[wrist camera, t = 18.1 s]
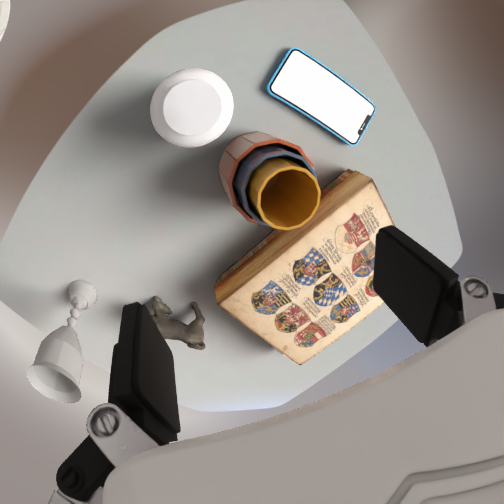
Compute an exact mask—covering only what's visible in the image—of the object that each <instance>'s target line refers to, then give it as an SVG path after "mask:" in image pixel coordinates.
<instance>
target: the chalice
mask: <svg viewBox="0 0 504 504" xmlns="http://www.w3.org/2000/svg"><path fill="white" fill-rule="evenodd" d="M69 299H70V302H71V304H72V305H73V306H74V308H73V309H71V310H70V314H71V317H70V318H68V319H67V322H68V326H61V327H60V328H58V329H56V330H55V331H53V332H52V333H50V334H49V335H48V336H47V337H46V338H45V339H44V340H43V341H42V342H41V345H40V347H39V350H38V353H37V355H36V358H35V361H34V364H33V365H32V366H30V367H29V368H28V369H27V372H26V375H27V378H28V380H29V382H30V383H31V385H32V386H33V387H34V388H35V389H36V390H38V391H39V392H40V393H42V394H43V395H45V396H47V397H48V398H51V399H52V400H55V401H58V402H62V403H75V402H77V401H79V400H80V398H81V392H80V389H79V382H80V377H81V372H82V367H83V357H82V350H81V346H80V343H79V339H78V336H77V333H76V332H75V330H73V328H74V327H75V326H77V320H76V319H77V318H79V317H80V316H81V313H80V310H86V309H88V308H89V307H91V306H92V305H93V304H94V303H95V302H96V301H97V292H96V290H95V288H94V287H93V286H92V285H91V284H90V283H88V282H86V281H83V280H76V281H73V282H72V283H71V284H70V286H69Z"/></svg>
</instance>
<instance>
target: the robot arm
mask: <svg viewBox="0 0 504 504" xmlns="http://www.w3.org/2000/svg"><path fill="white" fill-rule="evenodd" d="M458 277H459V275H458V274H456V273H455V272H454V271H453V270H452V269H450V268H449V267H448V266H447V265H445V264H444V263H443V262H442V261H440V260H439V259H438V258H437V257H435V256H434V255H433V254H431V253H430V252H429V251H428V250H426V249H425V248H424V247H422V246H421V245H420V244H418V243H417V242H416V241H414V240H413V239H412V238H410V237H409V236H407V235H406V234H405V233H403V232H402V231H401V230H399V229H398V228H396V227H395V226H393V225H389V226H386V227H383V228H380V229H379V231H378V233H377V234H376V241H375V260H374V274H373V289H374V291H375V292H376V294H377V295H378V296H379V297H380V298H381V299H382V300H383V301H384V302H385V303H386V305H387V306H388V307H389V308H390V309H391V310H392V311H393V312H394V314H395V315H396V316H397V317H398V318H399V319H400V320H401V322H402V323H403V324H404V325H405V326H406V327H407V328H408V330H409V331H410V332H411V333H412V334H413V335H414V337H415V338H416V339H417V340H418V341H419V342H421V343H424V345H425V346H426V347H427V348H425V349H424V350H422V351H420V352H419V353H417V354H415V355H414V356H411V357H410V358H408V359H406V360H404V361H403V362H401V363H399V364H397V365H395V366H393V367H391V368H389V369H387V370H385V371H383V372H381V373H379V374H377V375H375V376H373V377H371V378H369V379H367V380H365V381H363V382H361V383H359V384H356V385H354V386H352V387H350V388H347V389H345V390H343V391H341V392H338V393H336V394H333V395H331V396H329V397H326V398H324V399H321V400H319V401H317V402H313V403H311V404H308V405H306V406H303V407H300V408H297V409H295V410H292V411H289V412H286V413H283V414H280V415H277V416H274V417H271V418H268V419H265V420H261V421H258V422H255V423H251V424H248V425H244V426H241V427H237V428H233V429H229V430H226V431H222V432H218V433H214V434H210V435H205V436H201V437H197V438H192V439H188V440H184V441H180V442H175V443H171V444H169V442H172V441H177V440H178V439H177V433H179V432H180V421H179V413H178V404H177V394H176V384H175V372H174V360H173V355H172V352H171V350H170V348H169V346H168V345H167V343H166V341H165V340H164V338H163V336H162V334H161V333H160V331H159V329H158V327H157V325H156V324H155V322H154V320H153V318H152V316H151V315H150V313H149V311H148V309H147V307H146V305H145V304H143V305H141V304H140V303H139V302H135V303H132V304H128V305H125V306H124V307H123V313H122V319H121V326H120V333H119V340H118V343H117V344H115V345H114V349H113V356H112V365H111V374H110V385H109V396H108V403H104V404H101V405H99V406H97V407H96V408H94V409H93V410H92V411H91V413H90V414H89V416H88V418H87V424H86V426H87V431H88V433H89V436H88V437H87V438H86V439H85V440H84V441H83V442H82V443H81V444H80V445H79V447H77V448H76V449H75V451H74V452H73V453H72V454H71V455H70V456H69V457H68V458H67V459H66V460H65V462H63V464H61V466H60V467H59V469H58V471H57V475H56V481H57V485H58V487H59V489H58V491H55V490H54V492H53V494H52V496H51V498H50V500H49V502H48V504H504V294H498V293H492V289H491V287H490V285H489V284H488V283H487V282H486V281H485V280H483V279H482V278H480V277H476V276H467V277H465V278H464V279H462V281H461V282H459V281H458ZM437 340H438V341H437Z"/></svg>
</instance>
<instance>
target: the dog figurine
mask: <svg viewBox="0 0 504 504" xmlns="http://www.w3.org/2000/svg"><path fill="white" fill-rule="evenodd" d="M153 299H154V302H153V304H152V307H153V309H154V313H155V315H152V318H153V320H154V322H155V324H156V325H157V327H158V329H159V331H160V333H161V334H162V336H163V338H164V339H173V340H181V341H183V342H184V343H186V344H187V346H188V347H190V348H194V349H199V350H203V349H205V344H204V343H203V339H204V331H203V323H204V321H205V318H204V317H203V315H202V314H201V312H200V310H199V308H198V306H197V304H196V303H195V302H193V303H192V304H191V307H192V309H193V310H194V311H195V314H196V319H195V320H194V321H192V322H191V323H190V324H189V325H186V324H184V323H183V322H181V321H179V320H174V319H168V318H167V316H166V314H168V315H169V314H171V313H172V311H171V310H170V308H169V307H168V306H167V305H166V304H164V303H163V302H162V301H161V299H160V298H159V297H154V298H153ZM148 311H149V310H148ZM149 313H150V311H149ZM197 345H199V346H197Z"/></svg>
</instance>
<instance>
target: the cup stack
mask: <svg viewBox="0 0 504 504" xmlns="http://www.w3.org/2000/svg"><path fill="white" fill-rule="evenodd" d="M280 155H281V156H283V157H285V158H287V159H289V160H290V161H292V162H294V163H296V164H298V165H300V166H301V167H303V168H305V169H307V170H308V171H309V172H310V173H311V174H312V175H313V176H314V177H315V178H316V179H317V174H316V172H315V170H314V168H313V164H312V162H311V161H310V159H309V158H308V157H307V155H306V154H305V153H304V151H303V150H302V149H301V147H299V146H297V145H295V144H292V143H289V142H287V141H284V140H281V139H279V138H276V137H273V136H270V135H267V134H264V133H261V132H254V133H249V134H244V135H240V136H238V137H237V138H236V139H235V140H234V141H233V142H231V143H230V144H229V145H228V146H227V147H226V148H225V149H224V151H223V154H222V157H221V160H220V163H219V168H218V169H219V173H220V177H221V182H222V185H223V187H224V189H225V191H226V193H227V195H228V197H229V199H230V201H231V203H232V205H233V206H234V207H235V208H236V209H237V210H238V211H239V212H240V213H241V214H242V215H243V216H244V217H245V218H246V219H247V220H249V221H250V222H254V223H258V224H261V225H265V226H269V227H271V226H270V225H269V224H267V223H266V222H265V221H263V220H262V218H261V217H260V215H259V214H258V212H257V211H256V209H255V208H254V207H253V205H252V204H251V202H250V201H249V200H248V198H247V197H246V193H245V189H246V186H247V183H248V180H249V177H250V175H251V172H252V171H253V170H254V169H255V168H256V167H257V166H259V165H260V164H261V163H262V162H263V161H264V160H265V159H266V158H271V157H276V156H280Z"/></svg>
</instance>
